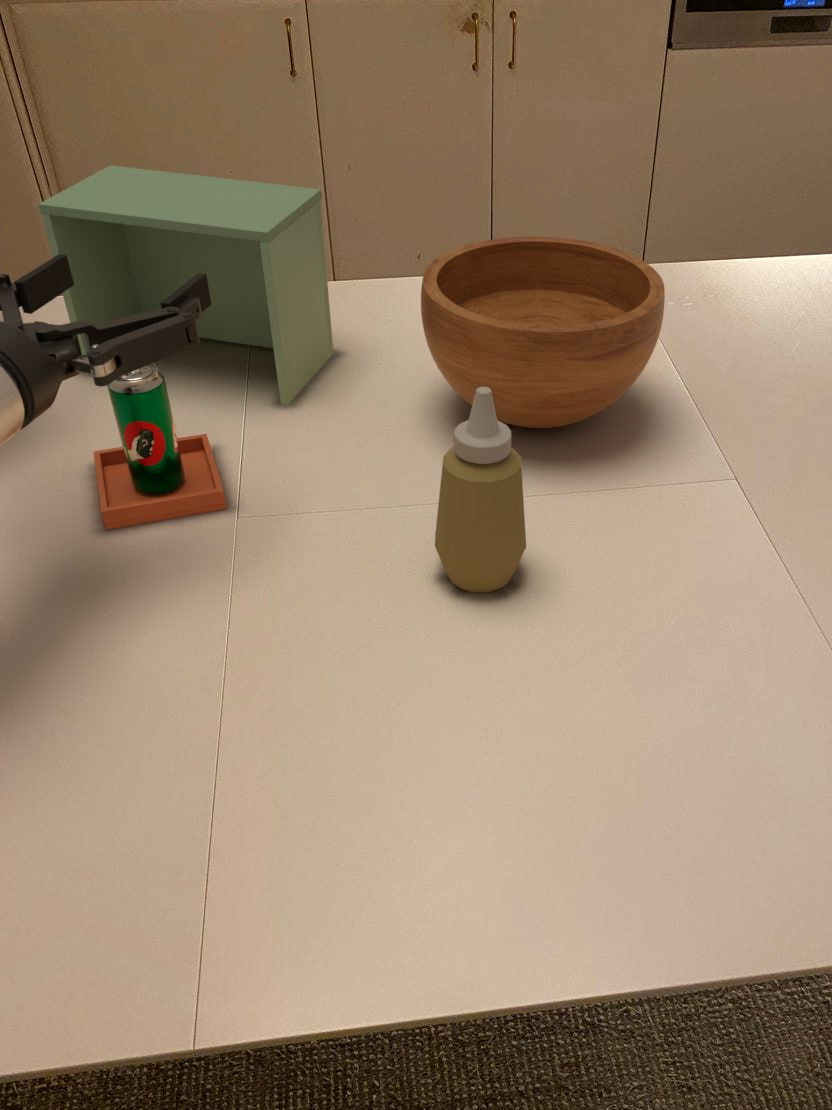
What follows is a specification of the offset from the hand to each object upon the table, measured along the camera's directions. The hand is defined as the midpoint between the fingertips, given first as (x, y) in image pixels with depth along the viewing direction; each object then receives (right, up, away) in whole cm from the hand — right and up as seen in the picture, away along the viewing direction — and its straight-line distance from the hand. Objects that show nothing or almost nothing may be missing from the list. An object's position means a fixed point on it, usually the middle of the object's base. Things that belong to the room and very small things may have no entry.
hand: (135, 278), depth 87 cm
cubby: (-2, +1, +31) cm, 31 cm away
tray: (-1, -17, +11) cm, 20 cm away
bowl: (+37, -7, +23) cm, 44 cm away
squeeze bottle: (+30, -26, +1) cm, 40 cm away
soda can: (-1, -17, +10) cm, 20 cm away
